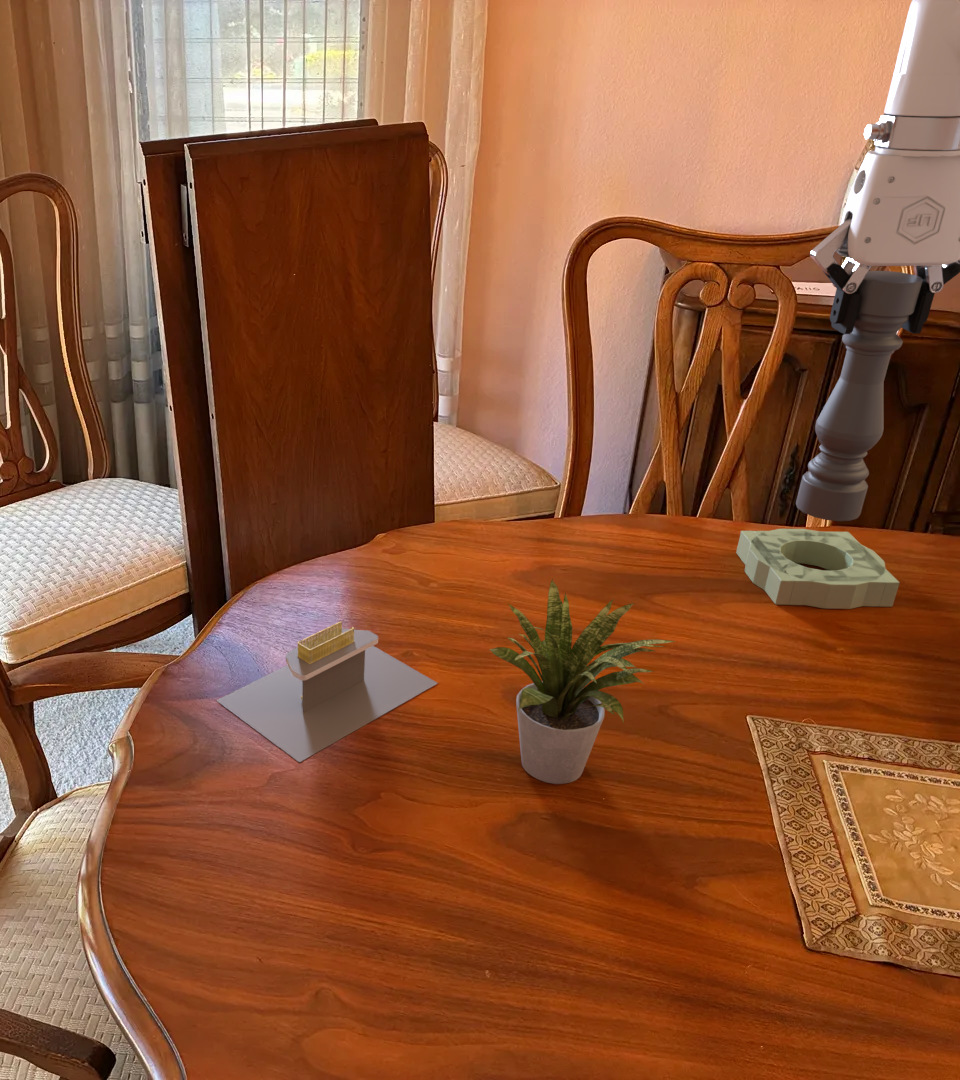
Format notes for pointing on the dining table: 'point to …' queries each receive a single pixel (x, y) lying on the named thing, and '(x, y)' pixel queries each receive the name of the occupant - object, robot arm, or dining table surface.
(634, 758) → the dining table surface
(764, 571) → the base pad
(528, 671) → the house plant
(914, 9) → the robot arm
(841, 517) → the grey baluster
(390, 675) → the platform
